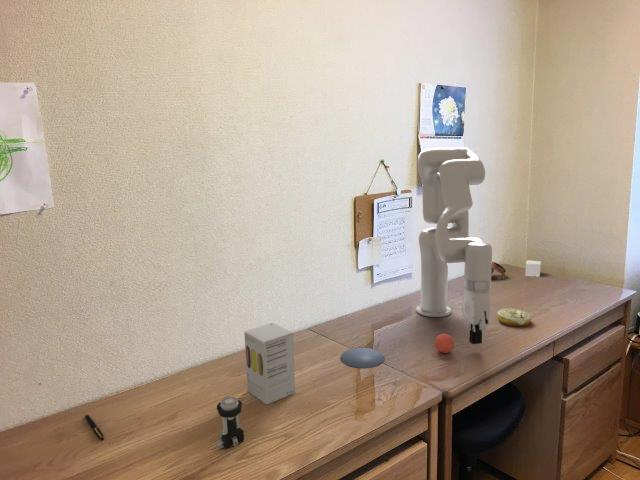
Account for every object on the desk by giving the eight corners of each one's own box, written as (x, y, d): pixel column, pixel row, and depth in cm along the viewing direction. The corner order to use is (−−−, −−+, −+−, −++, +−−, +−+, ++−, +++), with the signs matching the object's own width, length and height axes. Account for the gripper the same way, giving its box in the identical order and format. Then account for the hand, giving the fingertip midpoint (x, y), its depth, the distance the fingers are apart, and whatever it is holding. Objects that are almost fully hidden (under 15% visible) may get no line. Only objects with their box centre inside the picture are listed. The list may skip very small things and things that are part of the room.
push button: (223, 456, 101) (219, 413, 99) (209, 445, 105) (206, 403, 103) (249, 442, 105) (246, 400, 103) (235, 432, 109) (232, 392, 107)
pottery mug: (484, 274, 228) (494, 260, 225) (500, 286, 222) (511, 272, 220) (473, 273, 219) (484, 258, 216) (490, 286, 213) (501, 271, 211)
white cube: (540, 273, 225) (541, 261, 224) (539, 277, 220) (540, 264, 218) (526, 272, 228) (526, 260, 226) (525, 275, 222) (526, 263, 221)
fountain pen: (82, 416, 118) (81, 411, 118) (87, 414, 119) (87, 409, 118) (100, 443, 107) (99, 437, 107) (106, 441, 108) (105, 435, 108)
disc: (338, 349, 150) (337, 349, 150) (379, 347, 151) (379, 346, 151) (344, 369, 137) (344, 368, 137) (389, 366, 139) (389, 365, 138)
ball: (432, 348, 149) (432, 331, 148) (449, 347, 149) (450, 330, 148) (438, 356, 144) (438, 339, 142) (456, 355, 144) (457, 337, 143)
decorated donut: (526, 330, 162) (527, 319, 161) (493, 324, 168) (494, 313, 167) (533, 320, 170) (533, 310, 169) (501, 314, 176) (502, 304, 175)
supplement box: (246, 391, 127) (242, 330, 124) (275, 379, 133) (272, 321, 129) (266, 405, 120) (263, 342, 116) (296, 392, 126) (294, 331, 122)
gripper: (455, 278, 150) (454, 334, 153) (475, 292, 135) (473, 354, 139) (479, 277, 151) (477, 332, 154) (501, 290, 136) (498, 352, 139)
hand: (475, 342), depth 146 cm, fingers closed
